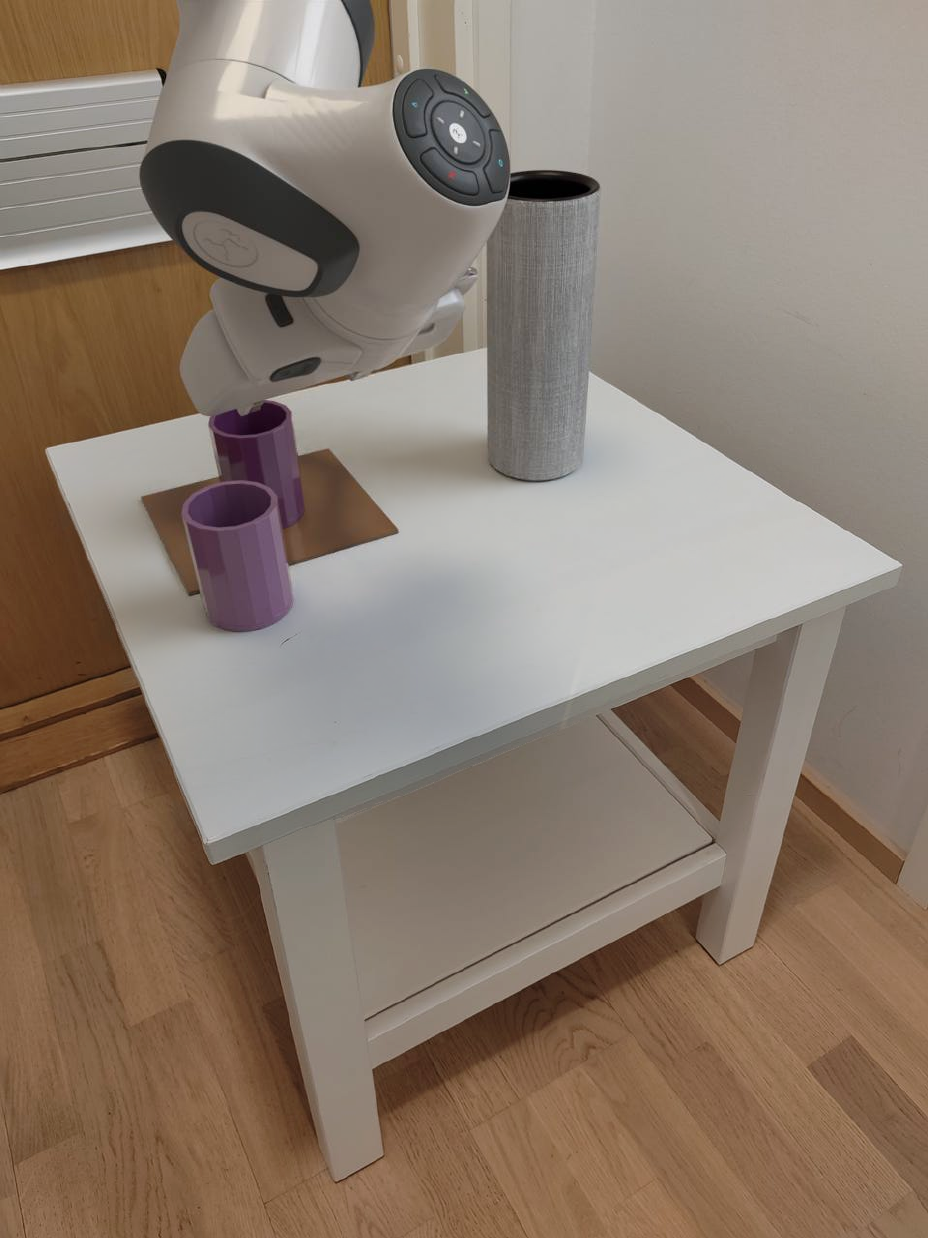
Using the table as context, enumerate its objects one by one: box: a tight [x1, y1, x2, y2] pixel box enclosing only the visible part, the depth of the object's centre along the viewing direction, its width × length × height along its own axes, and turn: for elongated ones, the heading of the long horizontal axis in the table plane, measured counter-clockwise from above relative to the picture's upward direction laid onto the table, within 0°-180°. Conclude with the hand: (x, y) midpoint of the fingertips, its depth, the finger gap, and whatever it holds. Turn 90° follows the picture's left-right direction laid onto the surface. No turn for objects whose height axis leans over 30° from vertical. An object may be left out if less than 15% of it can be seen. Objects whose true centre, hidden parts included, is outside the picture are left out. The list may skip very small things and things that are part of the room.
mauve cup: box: [181, 480, 294, 632], centre depth 78 cm, size 7×7×10 cm
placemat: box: [140, 447, 399, 596], centre depth 92 cm, size 20×18×1 cm
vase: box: [486, 169, 602, 482], centre depth 92 cm, size 10×10×27 cm
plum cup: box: [207, 399, 305, 529], centre depth 89 cm, size 7×7×10 cm
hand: (300, 386), depth 73 cm, fingers open, 8 cm apart
